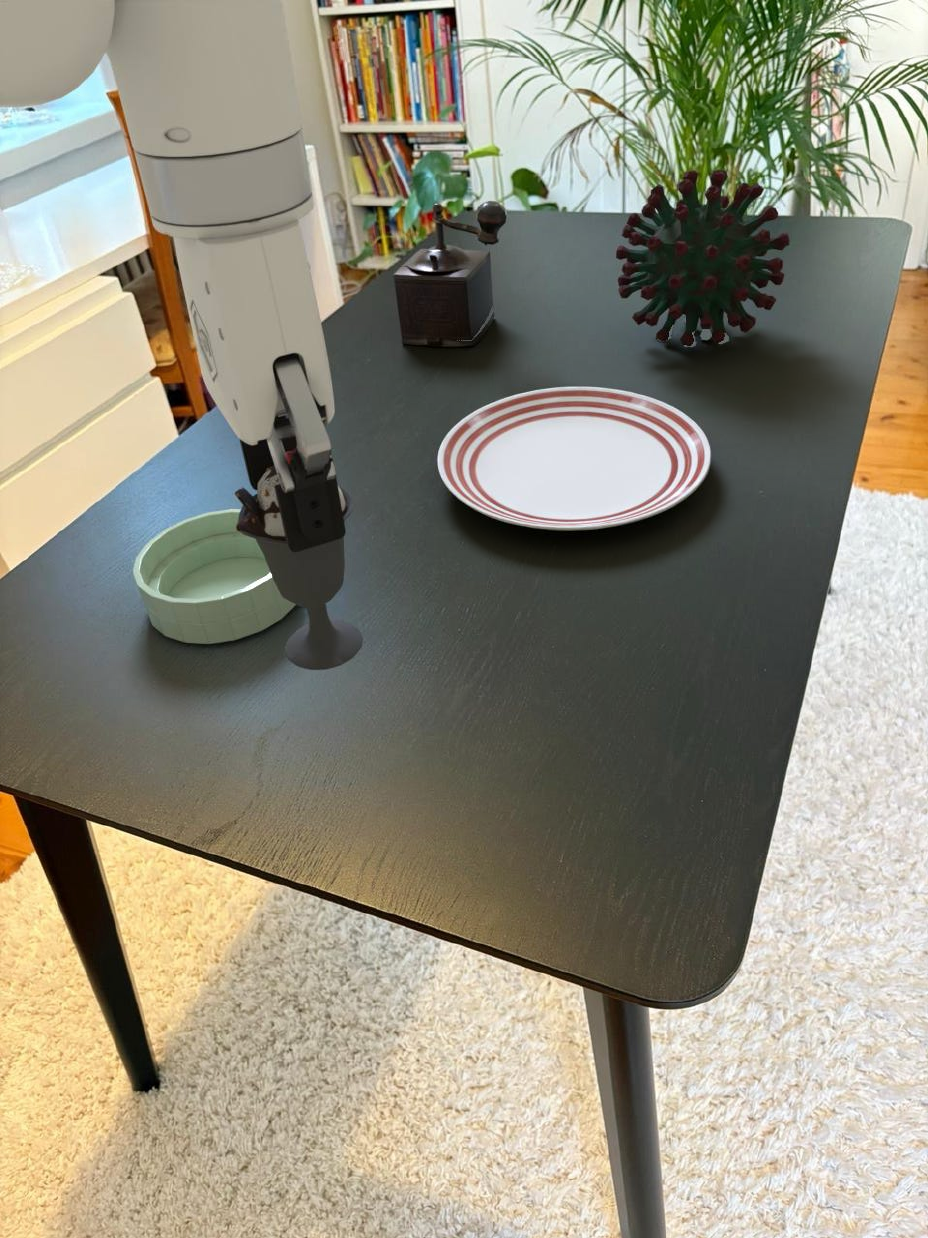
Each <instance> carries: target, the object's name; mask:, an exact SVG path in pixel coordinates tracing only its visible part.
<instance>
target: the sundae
mask: <svg viewBox="0 0 928 1238" xmlns="http://www.w3.org/2000/svg"><path fill="white" fill-rule="evenodd" d="M296 451H297V446H296V448H295V449H294V450H293V451H288V452H285V454H286V457H287V460H288V463H289V461H290V458H291V454H292V453H296ZM279 484H280V482H279V478H278V475H277V472H276V469H275V465H274V466H272V467H270V468H267V470H266V472H265V473H264V475H263V476H262V478H261V479H260V481H259V482H258V490H256V492H257V493H256V494H254V495H252V494H251V493H250V492H249V491H248V490H247V488H245V487H241V488H239V489H237V490H235V492H234V495H235V497H236V498H237V499H238V500H239V502H240V503H241V504H242V506H241V508H240V509H241V511H240V513H239V517H238V523H237V525H236V529H237V531H239V532H241V533H242V534H244V535H246V536H249V537H252V538H255V539H256V541H257V543H258V545H259V547H260V549H261V551H262V553H263V554H264V557H265V559H266V562H267V565H268V567H269V570H270V572H271V575H272V578H273V580H274V582H275V584H276V586H277V588H278V590H279V592H280V594H281V596H282V597H283V598H285V599H286V600H288V601H290V602H292V603H294V604H296V605H295V606H297V607H298V606H299V607H301V608H305V609H306V612H307V617H308V623H306V624H305V625H302V626H301V627H299V628H298V629H296V630H295V631H294V632H293V633H292V634H291V635H290V637H289V638H288V639H287V642H286V644H285V649H284V651H285V655H286V658H287V660H288V661H290V663H292V664H294V666H296V667H298V668H302V669H305V670H309V671H324V670H325V671H326V670H330V669H334V668H338V667H340V666H342V665H344V664H346V663H348V662H349V661H351V660H353V659H354V657H355V656H356V655H357V654H358V653H359V651H360V650H361V649H362V646H363V643H364V638H363V634H362V632H361V630H360V628H358V627H357V626H355V625H354V624H353V623H351V622H348V621H345V620H341V619H337V618H335V619H334V618H331V619H330V617H329V614H328V608H327V603H329V602H330V601H332V600H333V598H334V597H336V595H337V594H338V593H339V591H340V590H341V589H342V587H343V585H344V582H345V581H344V580H345V570H346V569H345V568H346V563H345V562H346V561H345V560H346V559H345V556H346V555H345V536H344V537H343V538H341V539H338V540H335V541H332V542H329V543H325V544H322V545H319V546H316V547H313V548H309V549H306V550H303V551H300V552H292V551H291V550H290V548H289V547H288V545H287V542H286V537H285V533H284V528H283V524H282V519H281V515H280V510H279V506H278V501H277V497H276V492H275V488H274V486H275V485H279ZM338 490H339V495H340V501H341V507H342V513H343V518H344V524H346V523H345V522H346V520H347V519H348V518H349V517H350V516H351V514H352V512H354V509H355V507H356V504H355V501H354V499H353V497H352V496H351V494H350V493H349V492H348V491H346V490H345V489H344V487H342V486H340V485H338Z"/></svg>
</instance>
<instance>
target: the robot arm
mask: <svg viewBox="0 0 928 1238" xmlns="http://www.w3.org/2000/svg"><path fill="white" fill-rule="evenodd" d="M105 54H106V56H107V57H108V60H109V62H110V66H111V70H112V74H113V77H114V82H115V86H116V89H117V94H118V97H119V100H120V104H121V105H120V106H121V108H122V112H123V117H124V119H125V122H126V127H127V131H128V135H129V138H130V139H129V140H130V143H131V146H132V148H133V154H134V157H135V161H136V165H137V169H138V173H139V177H140V180H141V184H142V188H143V191H144V195H145V199H146V203H147V206H148V207H147V208H148V211H149V214H150V219H151V223H152V226H153V227H152V228H154V230H155V231H156V232H158V233H160V234H161V235H168V237H173V242H174V248H175V255H176V260H177V265H178V270H179V276H180V279H181V284H182V288H183V295H184V298H185V299H184V300H185V303H186V308H187V312H188V317H189V321H190V326H191V330H192V335H193V340H194V345H195V349H196V354H197V359H198V364H199V368H200V373H201V375H202V376H201V377H202V380H203V383H204V385H205V387H206V390H207V392H208V393H209V395H210V396H211V398H212V400H213V402H214V403H215V405H216V406H217V408H218V410H219V411H220V413H221V414H222V417H224V419H225V421H226V422H227V424H228V425H229V427H230V428H231V430H232V431H233V433H234V435H236V436H237V438H238V439H239V443H240V448H241V452H242V456H243V459H244V465H245V469H246V473H247V477H248V482H249V484H250V486H251V488H252V489H253V490H254V491H258V482H259V481H260V479H261V478H262V476H263V475H264V473H265V472H266V470H267V468H270V467H272V466H274V465H275V469H276V472H277V475H278V478H279V482H280V484H279V485H275V486H274V488H275V492H276V497H277V501H278V506H279V510H280V515H281V519H282V524H283V528H284V533H285V537H286V542H287V545H288V547H289V548H290V550H291V551H292V552H300V551H303V550H306V549H309V548H313V547H316V546H319V545H322V544H325V543H329V542H332V541H335V540H338V539H341V538H343V537H344V538H345V535H346V533H347V531H346V523H344V518H343V513H342V507H341V501H340V495H339V490H338V486H339V484H338V479H337V472H336V469H335V464H334V460H333V456H332V444H331V440H330V437H329V435H328V432H327V430H326V428H325V426H328V425H329V424H330V423H331V421H332V420H333V418H334V416H335V413H336V412H335V410H336V409H335V398H334V389H333V380H332V375H331V369H330V363H329V358H328V351H327V346H326V341H325V335H324V331H323V326H322V325H323V324H322V319H321V316H320V315H321V314H320V311H319V305H318V300H317V296H316V295H317V294H316V290H315V286H314V281H313V277H312V272H311V263H310V262H309V260H308V255H307V251H306V247H305V243H304V238H303V234H302V230H301V226H300V221H299V220H300V219H302V218H304V217H305V216H307V215H308V214H309V213H311V211H313V209H314V207H315V199H314V194H313V186H312V185H313V184H312V179H311V174H310V168H309V167H310V166H309V161H308V155H307V147H306V143H305V136H304V135H305V134H304V130H303V127H302V126H303V123H302V118H301V111H300V104H299V99H298V92H297V85H296V80H295V73H294V67H293V60H292V53H291V48H290V42H289V35H288V29H287V23H286V17H285V11H284V4H283V0H0V108H23V107H24V108H25V107H34V106H42V105H45V104H47V103H50V102H53V101H57V100H59V99H62V98H63V97H65V96H68V95H69V94H70V93H72V92H73V91H75V90H77V89H78V88H79V87H81V85H82V84H83V83H85V82H86V81H87V80H88V79H89V78H90V77H91V75H93V73H94V72H95V70H96V69H97V67H98V66H99V64H100V62H101V61H102V60H103V58H104V57H105ZM296 446H297V451H296V453H292V454H291V458H290V461H289V463H288V460H287V457H286V454H285V452H288V451H293V450H294V449H295V448H296Z"/></svg>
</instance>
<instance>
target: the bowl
mask: <svg viewBox="0 0 928 1238" xmlns="http://www.w3.org/2000/svg"><path fill="white" fill-rule="evenodd" d="M240 511H241V508H229V509H223V510H216V511H209V512H204V513H202V514H198V515H196V516H192V517H189V518H186V519H183V520H181V521H179V522H177V523H175V524H173V525H171V526H169V527H167V528H165V529H163V530H162V531H160V532H159V533H158V534H157V535H155V536H154V537H152V538H151V539H150V540H149V541H148V542H146V543H145V545H144V546H143V548H142V549H141V550H140V551H139V553H138V555H136V557H135V560H134V564H133V570H132V575H133V577H134V578H133V579H134V581H135V582H136V586H137V588H138V591H139V593H140V597H141V599H142V602H143V604H144V608H145V610H146V613H147V616H148V618H149V620H150V623H151V625H152V627H153V628H154V629H156V630H157V631H158V632H160V633H161V634H162V635H163V636H164V637H166V638H170V639H173V640H176V641H178V642H182V643H186V644H201V645H212V644H220V643H226V642H233V641H237V640H240V639H242V638H245V637H246V638H247V637H248V636H251V635H254V634H257V633H260V632H262V631H265V630H266V629H267V628H269V627H270V626H272V625H274V624H275V623H278V622H279V621H281V620H282V619H283V618H284V617H285V616H286V615H288V613H290V612H291V611H292V609H294V608H295V607H296V606H297V605H296V604H294V603H292V602H290V601H288V600H286V599H285V598H283V597H282V596H281V594H280V592H279V590H278V588H277V586H276V584H275V582H274V580H273V578H272V575H271V572H270V570H269V567H268V565H267V562H266V559H265V557H264V554H263V553H262V551H261V549H260V547H259V545H258V543H257V541H256V539H255V538H252V537H249V536H246V535H244V534H242V533H241V532H239V531H237V529H236V525H237V523H238V517H239V513H240Z"/></svg>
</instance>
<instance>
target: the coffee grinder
mask: <svg viewBox="0 0 928 1238" xmlns="http://www.w3.org/2000/svg"><path fill="white" fill-rule="evenodd" d="M443 210H444V207H443V205H442V204H440V203H439V202H438V203H435V204H434V205H433V206H432V211H433V213H434V214H433V216H432V222H433V223H435V231H436V244H435V245H434V246H431V247H430V248H420V249H418V250H417V251H416V252H415V253H414V254H413V255H412V256H411V257H410V258H408V259H407V260H406V261H405V263H403V264H402V265H401V266H400V267H399V268H398V269H397V270H396V271H395V272H394V273H393V282H394V288H395V289H394V290H395V296H396V297H395V298H396V305H397V313H398V320H399V327H400V334H401V344H402V345H408V346H423V347H433V348H434V347H435V348H442V347H449V348H450V347H451V348H455V347H457V348H460V347H462V348H463V347H473V346H475V345H476V344H477V343H479V342H480V341H481V340H482V339H483V337H484V336H485V334H486V333H487V332H488V330H489V329H490V328H491V326H492V324H493V321H494V319H495V311H494V312H493V314H492V316H491V318H490V320H489V321H488V323H487V324H486V325H485V327H484V328H483V329H482V331H481V332H480V333H479V334H478V335H477V336H476V337H475V338H474V336H475V335H476V334H477V333H478V331H479V330H480V328H481V326H482V325H483V324H484V323H485V321H486V319H487V317H488V316H489V313H490V311H491V308H492V306H493V307H494V299H493V279H492V261H491V259H492V258H491V251H490V250H477V249H476V250H475V249H462V248H461V247H458V246H455V245H451V244H446V241H445V237H444V226H445V227H447V228H449V229H452V230H457V231H460V232H465V233H466V232H467V233H469V234H473V235H476V239H477V241H478V242H480V243H482V244H484V245H485V247H486V246H488V245H491V246H493V245H496V244H498V243H499V242H500V237H499V231H500V229H501V228H502V227H504V226H505V224H506V222H507V216H508V215H507V210H506V207H505V206H504V205H502V204H500V203H499V202H497V201H494V200H487V201H484V202H482V203H481V204H479V206H478V207H477V208H476V210H475V219H476V220H477V223H478V224H479V227H477V226H474V225H470V224H468V223H467V224H466V223H462V222H459V221H453V220H450V219H448V218H445V215H444V214H443V212H444V211H443ZM473 338H474V339H473ZM472 339H473V340H472ZM457 340H458V341H457ZM459 340H460V341H459ZM461 340H472V341H461Z"/></svg>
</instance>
